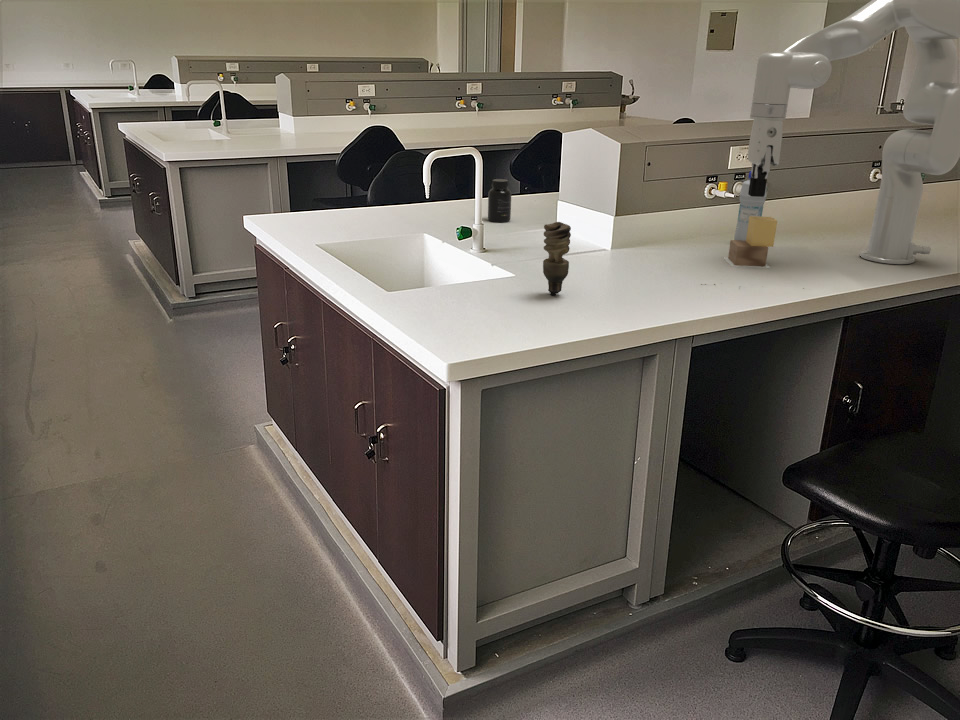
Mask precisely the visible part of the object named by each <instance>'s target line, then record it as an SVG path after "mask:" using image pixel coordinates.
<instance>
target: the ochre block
mask: <svg viewBox="0 0 960 720" xmlns="http://www.w3.org/2000/svg"><path fill="white" fill-rule="evenodd" d="M777 224H778V220H777V219H775V218H774V217H772V216H762V217H758V216H749V223H748V230H747V237H746V242H747V243H748V244H750V245H751V246H766V247H768V248H769V247H770V248H773V247H774V245H775V237H776V231H777V226H778V225H777Z"/></svg>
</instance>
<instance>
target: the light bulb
mask: <svg viewBox="0 0 960 720" xmlns="http://www.w3.org/2000/svg"><path fill="white" fill-rule="evenodd" d="M543 229H544V230H545V231H544V232H543V236H544V237H545V239H543V243H544V244H545V245H544V246H543V250H544V251H546V253H548V258H545V259H543V260H542V262H543V263H542V273H543V276H544V277H545V278H546V280H547V284H548V289H547V291H548V292H549V294H550V296H556V295H557V294H559V293H560V292H562V288H563V287H562V286H563V281H565V279H566V278H567V276H568V274H569V269H570V261H569V260H568V259H565V258H563V256H564V255H566V254H568V253H569V252H570V249H571V248H570V246H569V245H570V244H571V236H572V235H571V234H572V233H571V229H572V228H571V226H570V224H567V223H564V222H562V221H561V222H560V221H555V222H552V223H549V224H547V223H546V224H544V225H543Z"/></svg>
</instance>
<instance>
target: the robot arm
mask: <svg viewBox="0 0 960 720" xmlns="http://www.w3.org/2000/svg"><path fill="white" fill-rule="evenodd" d="M900 28H905V31H906V33H907V34H908V36H909V38H910V40H911V41H912V43H913V47H914V48H915V53H916V58H915V59H916V62H915V65H914V66H915V67H914V70H913V73H912V77H911V79H910V82H909V86H908V89H907V92H906V96H905V98H904V102H903V103H904V104H903V108H902V115H903V117H904V119H905V120H907V121H908V122H910V123H913V124H916V125H917V124H919V125H926V126H927V125H928V126H933V128H932V131H931V130H930V131H929V130H922V129H914V128H913V129H912V128H911V129H910V128H907V129H906V128H905V129H900V130H897V131H895V132H893V133H892V134H891V135H889V136H888V137H887V139H886V140H885V142H884V144H883V147H882V152H881V153H882V154H881V155H882V157H881V163H882V166H881V167H882V171H881V179H880V184H879V190H878V195H877V199H876V205H875V209H874V210H875V211H874V215H873V219H872V220H873V221H872V225H871V230H870V235H869V239H868V245H867V249H862V250H860V251H859V256H861V259H864V260H867V261H871V262H875V263H881V264H890V265H910V264H913V263H915V259H916V255H917V254H921V255H929V254H930V253H931V246H929V245H928V246H927V245H925V246H921V245H919V244H915V242H913V237H914V232H915V228H916V223H917V219H918V214H919V209H920V206H921V201H922V197H923V191H924V181H923V177H922V174H925V175H933V176H941V175H945V174H946V173H948V172H950V171H952V169H954V167H955V166H956V164H957V162H959V159H960V83H959V82H953V79H954V76H955V72H956V68H957V65H958V51H957V50H958V49H957V47H956V44H955V42H954V40H959V39H960V0H870V1H869V2H867V3H865V4H864V5H863V6H861V7H860V8H859V9H857V10H856V11H854V12H852V13H851V14H850V15H848V16H846V17H845V18H843V19H842V20H839V21H837V22H834V23H832V24H830V25H828V26H826V27H823V28H822V29H820V30H817V31H815V32H812V33H811V34H808V35H806V36H805V37H803V38H801V39H799V40H797V41H796V42H794V43H793V44H792V45H790V46H789V47H787V48H785V49H784V50H783V51H781V52H763V53H762V54H761V55H760V56H759V57H758V59H757V63H756V65H757V66H756V70H755V71H756V72H755V80H754V85H753V86H754V87H753V93H752V102H751V107H750V113H749V115H750V116H749V119H751V120H753V122H752V125H751V133H750V137H749V142H748V149H747V150H748V151H747V160H748V161H749V162H750V163H751V170H750V171H751V177H753V178H750V185H749V192H748V194H749V195H750V196H753V197H764V196H765V190H766V184H767V183H768V177H769V172H770V171H771V170H770V169H771V166H773V167H777V166H779V164H780V158H781V150H782V141H783V131H784V130H783V127H784V126H783V125H784V124H783V123H784V122H783V121H786V118H787V111H788V106H789V101H790V100H789V99H790V92H791V89H797V90H814V89H818V88H819V87H822V86H823V85H825V84H826V83H827V81H828V80H829V79H830V77H831V74H832V70H833V68H832V63H831V62H832V61H836V60H841V59H846V58H851V57H853V56H857V55H859V54H863V53H865V52H867V51H868V50H869V49H871V48H872V47H873V46H875V45H876V44H877V43H879V42H880V41H882V40H883V39H885V38H886V37H888V36H889V35H890V34H892V33H894V32H895V31H896V30H898V29H900Z"/></svg>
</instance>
